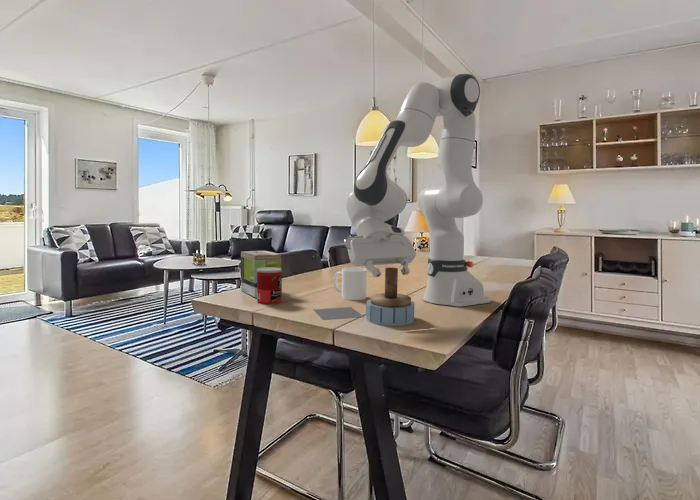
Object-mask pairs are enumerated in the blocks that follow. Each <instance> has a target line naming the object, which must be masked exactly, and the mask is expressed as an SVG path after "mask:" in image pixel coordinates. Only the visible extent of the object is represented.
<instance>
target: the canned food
mask: <svg viewBox="0 0 700 500" xmlns="http://www.w3.org/2000/svg"><path fill="white" fill-rule="evenodd" d="M282 278H283V271H282V267H281V268H276V267H264V268H258V269H257V298H256V301H257V304H262V305H275V304H279V303H281V302H282V301H283V300H282V298H283V295H282V294H283V290H282V289H283V288H282V287H283V284H282V283H283V279H282Z"/></svg>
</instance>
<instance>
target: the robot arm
mask: <svg viewBox="0 0 700 500" xmlns="http://www.w3.org/2000/svg"><path fill="white" fill-rule="evenodd" d="M480 87H481V86H480V84H479V81H478V80H477V79H476V77H475V76H474V75H473V74H470V73H459V74H457V75H453V76H447V77H442V78H440V79H439V80H436V81H433V82H431V83H430V82H426V81H425V82H423V81H419V82H417V83H415V84H414V85H412V86H411V87H410V88H409V91H408V93H407V94H406V96H405V98H404V100H403V102H402V104H401V107H400V108H399V112H398V115H397V117H396V118H395V120H392V121H390V123H388V124H387V125H386V127H385V128H384V129H383V130H382V133H381V134H380V136H379V139H378V141H377V142H376V144H375V146H374V148H373V150H372V152H371V154H370V156H369V158H368V160H367V161H366V163H365V165H364V166H363V168H362V169H361V170H360V171H359V173H358V174H357V176H356V178H355V179H354V183H353V191H352V192H351V193H350V194H349V195H348V197H347V198H346V203H345V204H346V211H347V215H348V218H349V220H350V222H351V224H352V226H353V227H354V228H355V233H356V236H352V235H351V236H347V237H346V238H345V239H344V245H345V248H347V253H348V254H347V255H348V258H349V261H350V263H351V264H352V266H354V267H365V269H367V270H368V271H369V272H370V273H371V274H372V276H373V278H379V277H380V276H381V275H382V272H381V270H380V268H378V267H376V266H381V265H383V266H384V265H396V264H397V265H399V264H400V266H402V268H401V269H400V272H401V273H402V275H403V276H405V275H406V276H407V275H409V274H410V272H411V271H410V268H409V264H410V263H412V262H413V261H414V259H415V257H416V256H417V252H416V250H415V248H414V246H413V244H412V243H411V241H410V240H409V238H408V237H407V236H406V235H405V231H404V229H403V228H402V227H400V226H399V227H398V226H395V225H392V224H388V223H386V222H388V221H390V220H392V219H393V218H395V217H396V216H397V215H399V214H401V213H402V212H403V210H404V209H405V207H406V206H407V201H408V199H407V198H408V195H407V193H406V191H405V190H404V189H403V188H401V187H400V186H399V185H398V184H397V182H396V183H395V182H394V181H393V180H392V179H391V178H390V177H389V174H388V170H389V169H388V168H389V166H390V165H391V162H392V161H393V158H394V157H395V155H396V153H397V150H398V149H399V148H400V147H406V148H414V147H419V146H421V145H423V144H425V143H426V142H427V140H428V139H429V137H430V135H431V133H432V130H433V127H434V124H435V121H436V118H437V117H441V118H442V120H443V126H442V129H441V133H440V139H439V146H438V154H437V159H436V163H437V164H436V165H437V167H438V168H439V169H440V171H441V172H442V177H443V184H433V185H430V186H428V187H426V188H425V187H424V188H423V189H422V190H421V191H420V193H419V194H418V197H417V206H418V208H419V211H420V212H421V213H422V214H423V216H424V217H425V218H424V219H425V221H426V224H427V228H428V234H429V256H428V259H427V281H426V288H425V291H424V294H423V298H422V300H423V301H425V302H427V303H431V304H437V305H444V306H452V307H457V308H458V307H467V306H468V307H469V306H474V305H480V304H481V305H482V304H487V303H488V304H489V303H491V302H492V300H491V298H490V297H489V296H486V295H485V289H484V286H483V283H482V282H481V281H480V280H479V279H478V278H477V277H476V276H474V275H473V274H472V273H471V272H470V271H469V270H468V268H473V267H474V265H475V263H474V262H473V261H471V260H467V261H466V260H465V259H464V250H465V249H464V247H465V245H464V243H465V237H464V234H463V232H461V231H460V230H459V228H458V226H457V224H456V219H464V218H467V217H468V218H469V217H471V216H476V215H477V214H478V213H479V212H480V210H481V209H482V206H483V201H484V199H483V198H484V197H483V193H482V191H481V190H480V188H479V187H478V186H477V185H476V182H475V181H474V175H473V169H472V165H473V157H474V155H473V154H474V148H475V141H476V131H477V130H476V128H477V127H476V123H477V122H476V115H475V113H474V112H475V110H476V107H477V105H478V103H479V100H480V95H481V88H480Z"/></svg>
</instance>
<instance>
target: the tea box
mask: <svg viewBox="0 0 700 500" xmlns="http://www.w3.org/2000/svg"><path fill="white" fill-rule="evenodd" d="M264 267H276V268H281V269H282V254H281V253H278V252H274V251H268V250H249V251H240V291H241V292H243V293H246V294H248V295H249V296H251V297H254V298H256V299H257V269H258V268H264Z"/></svg>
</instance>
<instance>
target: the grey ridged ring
mask: <svg viewBox="0 0 700 500" xmlns="http://www.w3.org/2000/svg"><path fill="white" fill-rule="evenodd" d="M415 304H416V303H415V302H414V301H412V300H411V305H409V306H405V307H381V306H376V305H373V304H372V303H371V298H370V299H368V300H367V301H366V302H365V318H366V321H368V322H369V323H371V324H374V325H379V326H389V327H398V326H400V327H401V326H407V325H410V324H412V323H414V322H415V321H414V320H415V307H416V306H415Z"/></svg>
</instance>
